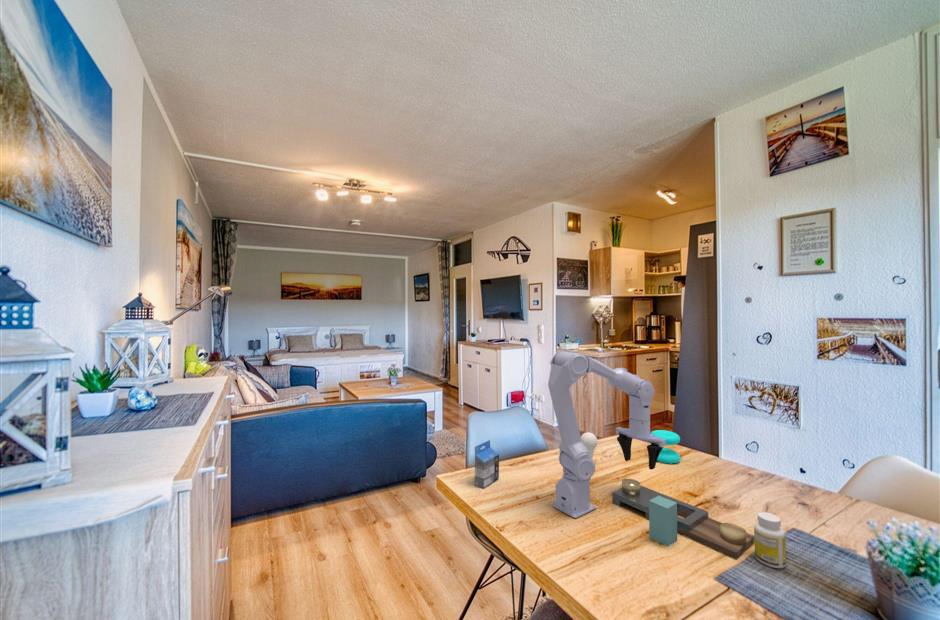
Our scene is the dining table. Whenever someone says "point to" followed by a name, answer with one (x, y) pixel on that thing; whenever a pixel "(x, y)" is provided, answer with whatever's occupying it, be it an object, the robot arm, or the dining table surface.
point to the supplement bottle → (769, 541)
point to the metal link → (641, 496)
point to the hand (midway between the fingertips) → (639, 464)
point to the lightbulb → (589, 442)
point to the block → (663, 520)
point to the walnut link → (718, 536)
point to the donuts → (667, 454)
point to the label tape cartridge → (486, 465)
